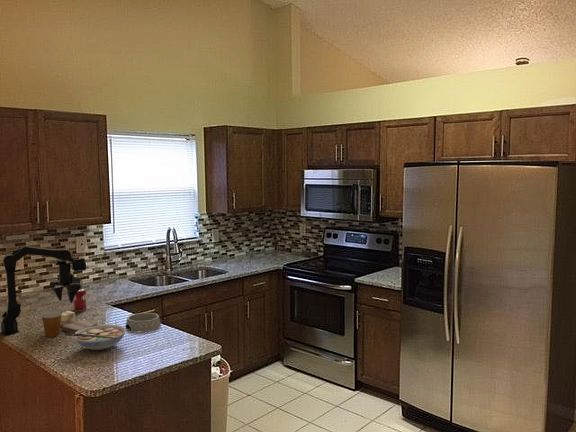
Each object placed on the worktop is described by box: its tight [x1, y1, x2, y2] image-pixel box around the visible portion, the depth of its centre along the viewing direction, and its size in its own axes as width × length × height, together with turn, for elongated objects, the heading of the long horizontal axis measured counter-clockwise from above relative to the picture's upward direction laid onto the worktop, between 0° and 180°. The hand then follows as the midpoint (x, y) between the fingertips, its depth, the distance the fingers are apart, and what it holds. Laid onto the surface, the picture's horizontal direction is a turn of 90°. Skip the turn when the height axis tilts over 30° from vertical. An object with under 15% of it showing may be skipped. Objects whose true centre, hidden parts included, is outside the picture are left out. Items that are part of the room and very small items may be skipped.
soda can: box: [72, 288, 88, 312], centre depth 288 cm, size 7×7×12 cm
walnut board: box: [61, 319, 98, 333], centre depth 254 cm, size 12×12×2 cm
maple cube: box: [60, 310, 77, 326], centre depth 262 cm, size 6×6×6 cm
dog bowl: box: [124, 312, 162, 332], centre depth 259 cm, size 17×18×5 cm
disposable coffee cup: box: [40, 308, 62, 338], centre depth 244 cm, size 10×10×12 cm
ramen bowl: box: [64, 324, 127, 351], centre depth 227 cm, size 25×23×8 cm
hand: (65, 301), depth 261 cm, fingers open, 9 cm apart
